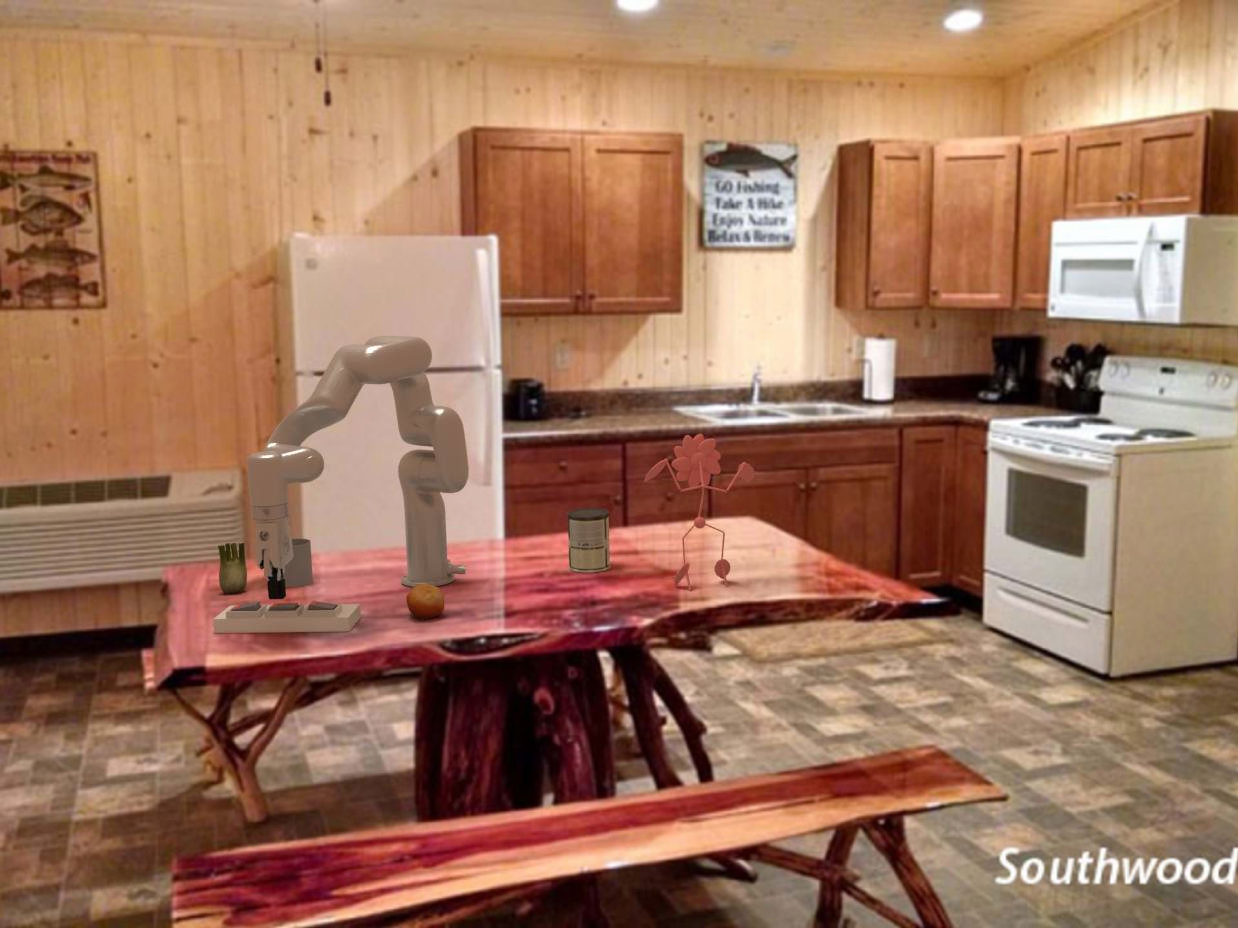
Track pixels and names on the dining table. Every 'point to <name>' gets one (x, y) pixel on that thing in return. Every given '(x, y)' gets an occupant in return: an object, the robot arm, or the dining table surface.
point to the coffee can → (588, 540)
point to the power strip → (288, 620)
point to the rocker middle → (284, 606)
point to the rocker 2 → (321, 606)
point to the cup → (299, 565)
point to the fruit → (425, 601)
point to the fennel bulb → (232, 568)
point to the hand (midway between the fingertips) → (277, 597)
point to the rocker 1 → (247, 607)
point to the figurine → (697, 467)
